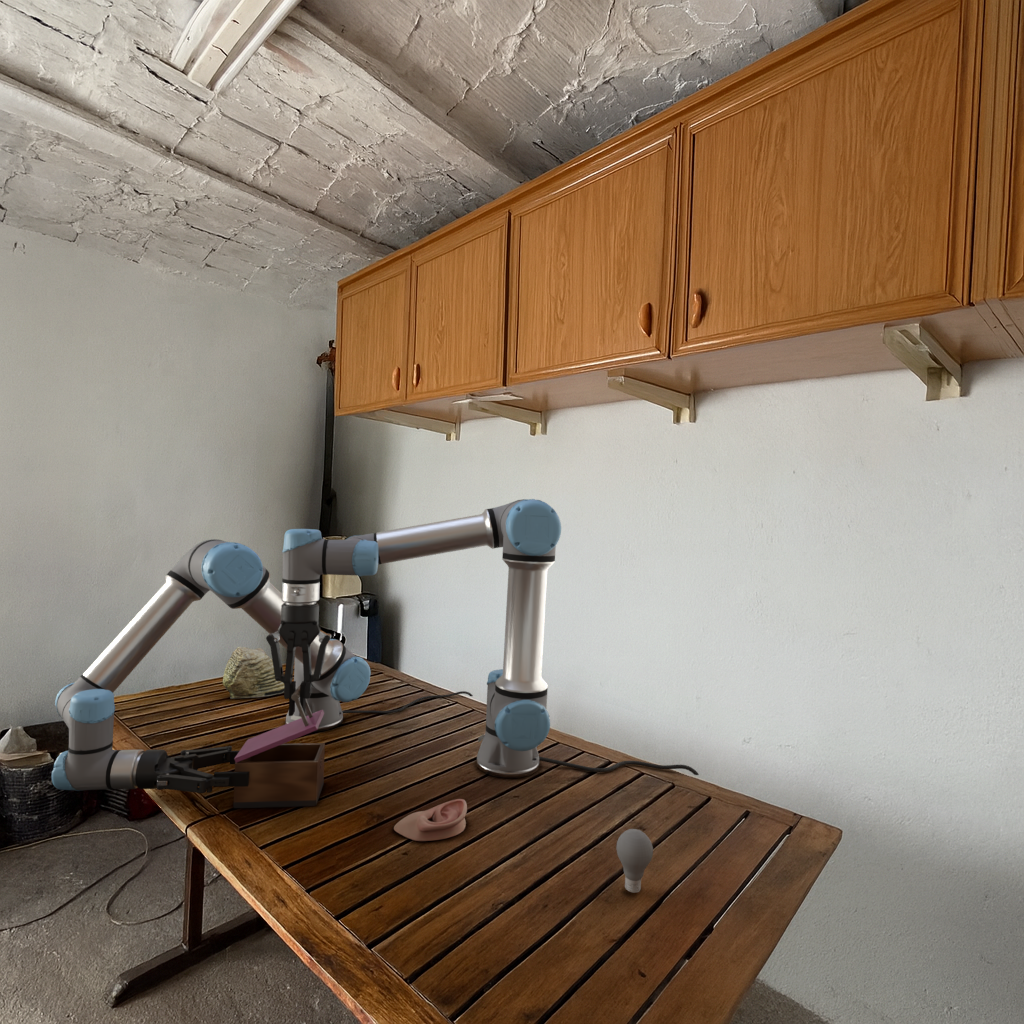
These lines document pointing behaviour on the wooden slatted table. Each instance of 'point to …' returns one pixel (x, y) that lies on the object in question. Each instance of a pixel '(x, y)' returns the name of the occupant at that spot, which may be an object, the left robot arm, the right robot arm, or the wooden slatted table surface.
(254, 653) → the fossil
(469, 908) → the wooden slatted table surface
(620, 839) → the light bulb
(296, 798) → the chest
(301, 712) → the lid
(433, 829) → the anatomical model
